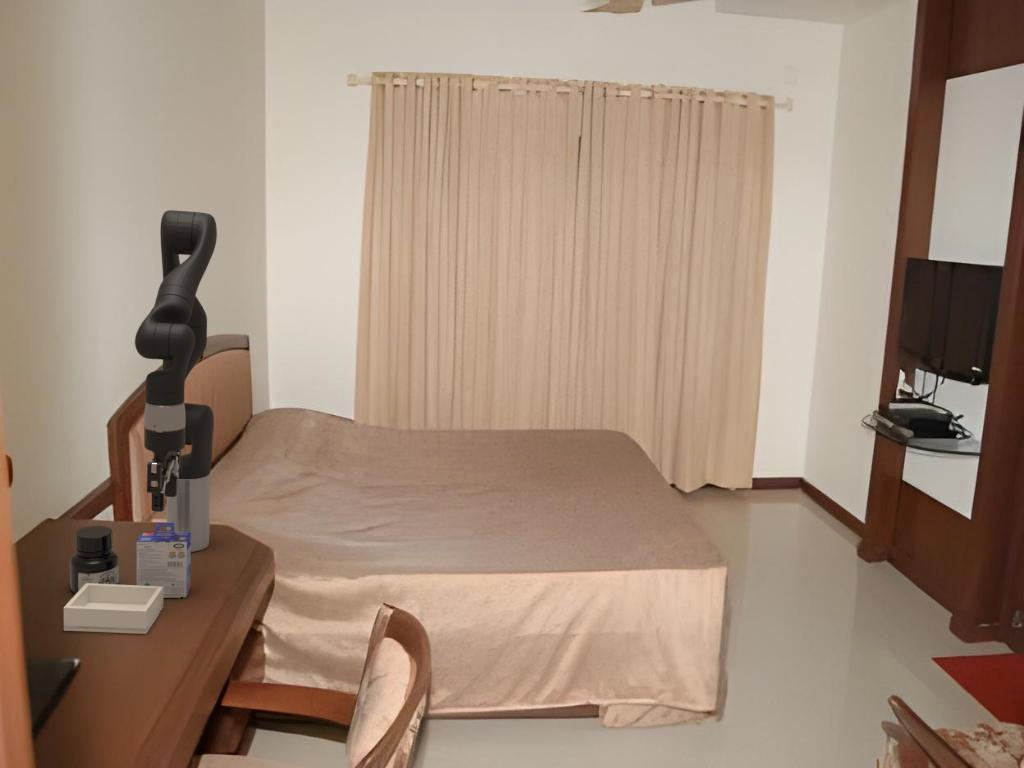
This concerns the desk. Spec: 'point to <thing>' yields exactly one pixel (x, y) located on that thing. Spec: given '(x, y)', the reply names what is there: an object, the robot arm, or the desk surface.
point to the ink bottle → (93, 558)
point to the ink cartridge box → (164, 561)
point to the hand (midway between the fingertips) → (164, 503)
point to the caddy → (113, 608)
